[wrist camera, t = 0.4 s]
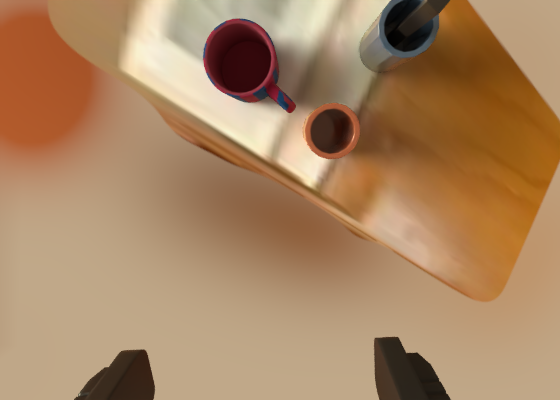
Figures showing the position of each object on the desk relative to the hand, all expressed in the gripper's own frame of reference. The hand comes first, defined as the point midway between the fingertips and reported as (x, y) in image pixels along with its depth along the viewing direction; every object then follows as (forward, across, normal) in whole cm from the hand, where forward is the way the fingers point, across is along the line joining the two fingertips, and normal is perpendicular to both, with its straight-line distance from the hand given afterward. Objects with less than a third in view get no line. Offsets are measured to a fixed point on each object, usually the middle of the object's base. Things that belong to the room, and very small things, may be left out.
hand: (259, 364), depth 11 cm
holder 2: (+28, -12, -15) cm, 34 cm away
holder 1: (+28, -5, -7) cm, 30 cm away
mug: (+28, +2, -13) cm, 31 cm away
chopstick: (+28, -12, -15) cm, 34 cm away
